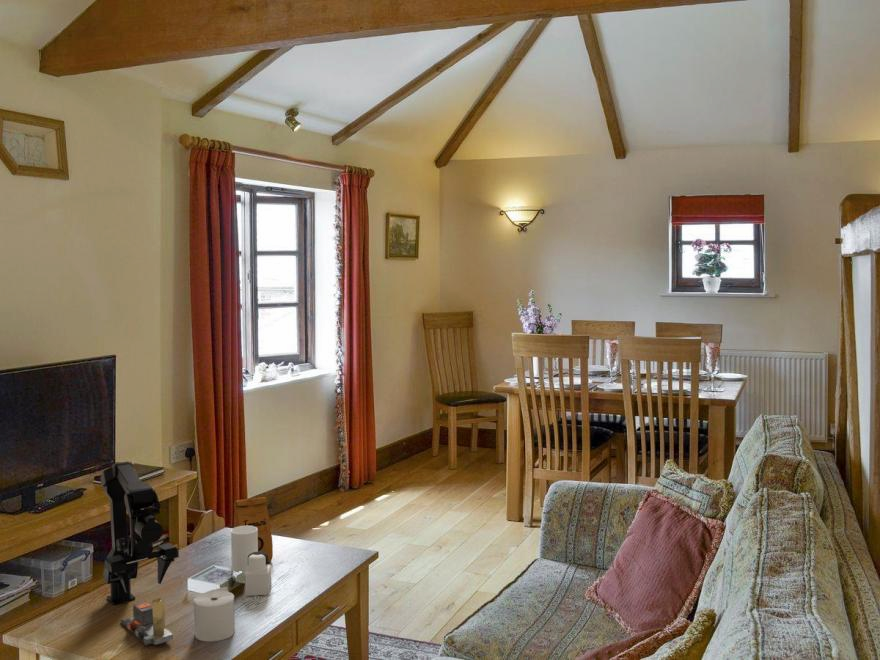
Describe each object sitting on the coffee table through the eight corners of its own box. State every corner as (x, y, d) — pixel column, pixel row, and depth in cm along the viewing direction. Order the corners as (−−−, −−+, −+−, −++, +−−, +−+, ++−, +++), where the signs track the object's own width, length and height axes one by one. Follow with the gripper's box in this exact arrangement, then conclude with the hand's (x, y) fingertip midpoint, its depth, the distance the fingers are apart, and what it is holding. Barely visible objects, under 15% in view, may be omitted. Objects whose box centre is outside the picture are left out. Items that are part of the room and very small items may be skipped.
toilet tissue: (197, 645, 224) (196, 608, 223) (191, 626, 235) (190, 592, 234) (238, 638, 229) (237, 602, 228) (230, 620, 240) (229, 586, 239)
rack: (124, 625, 233) (122, 588, 232) (147, 618, 238) (146, 582, 237) (148, 646, 221) (147, 608, 220) (173, 639, 225) (172, 601, 224)
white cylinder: (251, 584, 265) (251, 534, 264) (227, 582, 267) (226, 533, 265) (262, 574, 273) (261, 526, 272) (238, 572, 275) (237, 524, 273)
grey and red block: (133, 618, 234) (133, 604, 234) (145, 614, 236) (145, 600, 236) (142, 625, 230) (141, 611, 229) (154, 622, 232) (154, 607, 231)
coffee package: (274, 564, 282) (273, 500, 280) (236, 569, 277) (235, 504, 275) (269, 554, 291) (268, 492, 289) (232, 559, 287) (231, 496, 284)
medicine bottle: (248, 587, 263) (247, 549, 262) (271, 586, 264) (270, 549, 262) (244, 596, 256) (244, 558, 255) (268, 595, 257) (268, 557, 255)
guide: (120, 623, 237) (120, 619, 237) (143, 616, 242) (143, 613, 242) (146, 645, 224) (146, 642, 224) (170, 638, 228) (170, 634, 228)
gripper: (162, 518, 243) (163, 571, 245) (96, 532, 231) (98, 587, 232) (178, 528, 235) (180, 582, 236) (111, 543, 222) (113, 600, 224)
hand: (143, 587), depth 232 cm, fingers open, 9 cm apart
